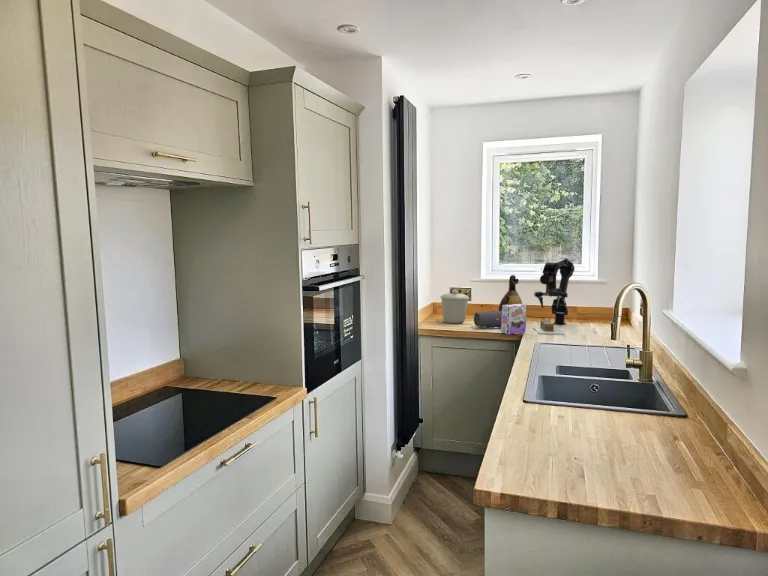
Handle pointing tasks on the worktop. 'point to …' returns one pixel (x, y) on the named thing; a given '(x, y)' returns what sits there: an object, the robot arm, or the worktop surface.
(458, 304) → the canister
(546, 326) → the walnut block
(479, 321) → the bluetooth speaker
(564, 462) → the worktop surface
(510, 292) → the ceramic jug
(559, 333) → the sage mat
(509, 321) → the candy box
